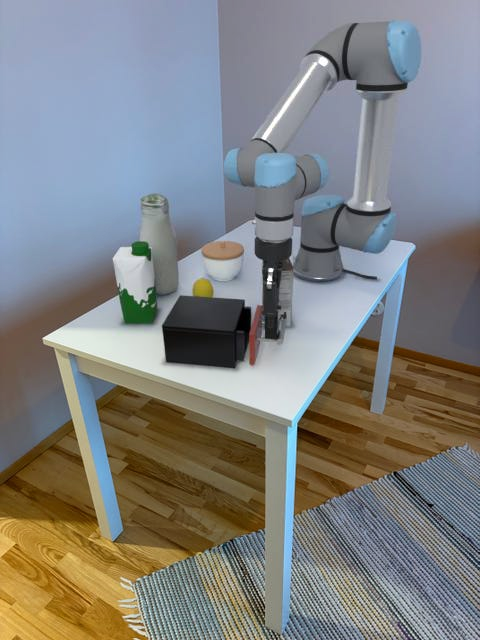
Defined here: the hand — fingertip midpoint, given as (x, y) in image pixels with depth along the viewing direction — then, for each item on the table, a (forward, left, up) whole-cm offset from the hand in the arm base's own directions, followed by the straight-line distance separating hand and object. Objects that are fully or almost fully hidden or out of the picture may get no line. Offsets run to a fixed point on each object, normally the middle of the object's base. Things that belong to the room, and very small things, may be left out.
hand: (270, 337), depth 104 cm
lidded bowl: (+12, -42, -4) cm, 43 cm away
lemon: (+17, -24, -4) cm, 29 cm away
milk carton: (+33, -18, -4) cm, 37 cm away
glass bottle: (+29, -32, -4) cm, 43 cm away
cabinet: (+15, -3, -4) cm, 15 cm away
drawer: (+7, -1, -3) cm, 8 cm away
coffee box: (-2, -16, -4) cm, 16 cm away
